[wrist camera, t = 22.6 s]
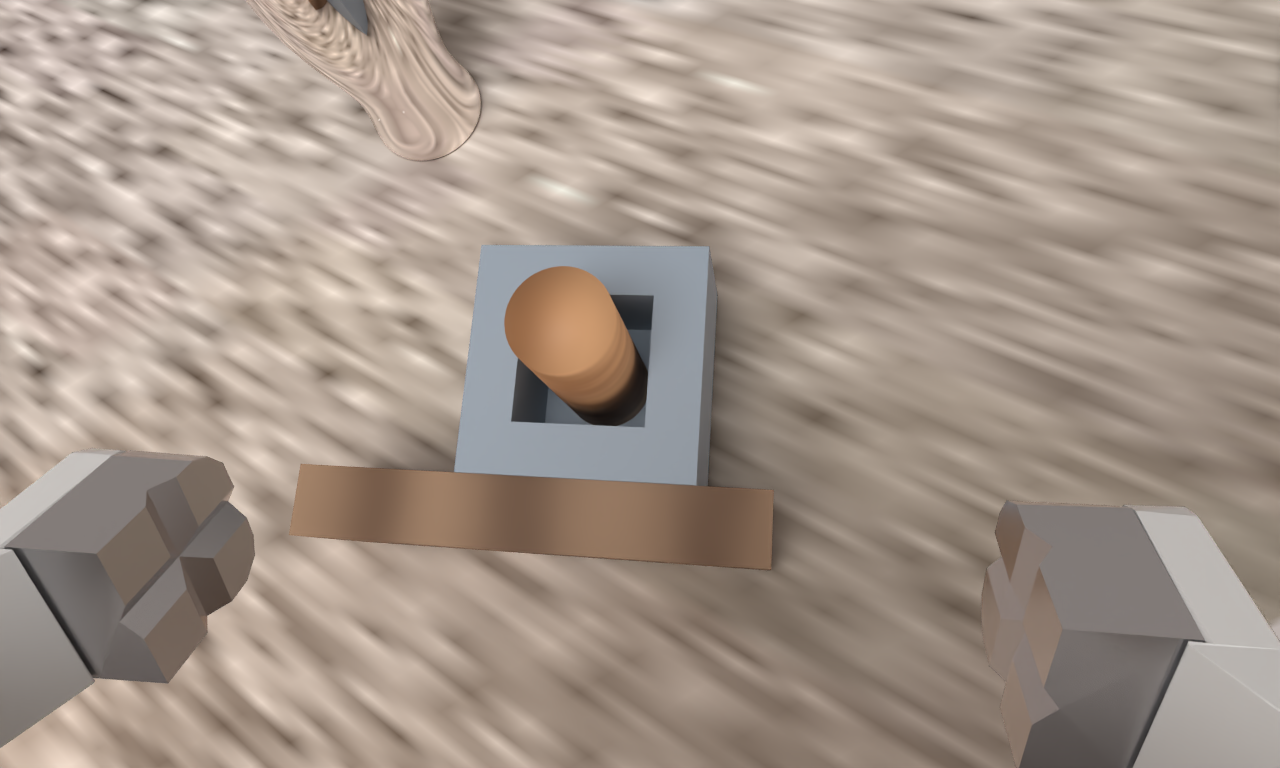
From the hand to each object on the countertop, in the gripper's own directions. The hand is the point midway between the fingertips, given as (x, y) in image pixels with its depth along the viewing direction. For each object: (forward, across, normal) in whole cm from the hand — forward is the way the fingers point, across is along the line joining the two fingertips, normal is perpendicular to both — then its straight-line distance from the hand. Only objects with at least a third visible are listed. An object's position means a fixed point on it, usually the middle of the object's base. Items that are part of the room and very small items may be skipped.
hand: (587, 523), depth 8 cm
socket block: (+26, +6, +15) cm, 31 cm away
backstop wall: (+22, +8, +20) cm, 30 cm away
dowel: (+26, +6, +14) cm, 30 cm away
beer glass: (+38, +17, +4) cm, 42 cm away
